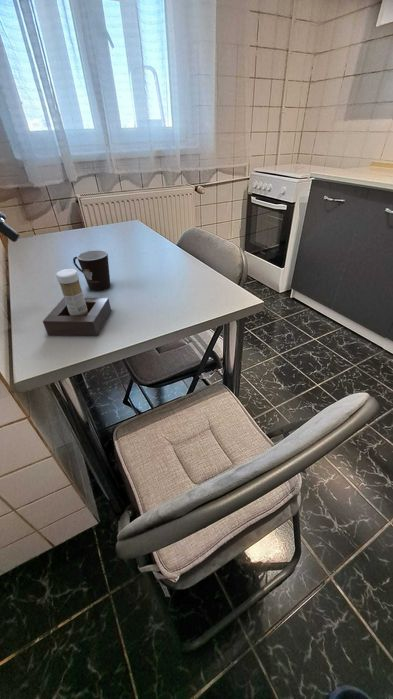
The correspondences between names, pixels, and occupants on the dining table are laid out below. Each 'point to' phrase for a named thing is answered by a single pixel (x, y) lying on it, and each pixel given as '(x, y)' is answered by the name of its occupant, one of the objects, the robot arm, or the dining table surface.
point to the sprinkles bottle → (72, 292)
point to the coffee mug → (95, 269)
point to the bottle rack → (78, 319)
